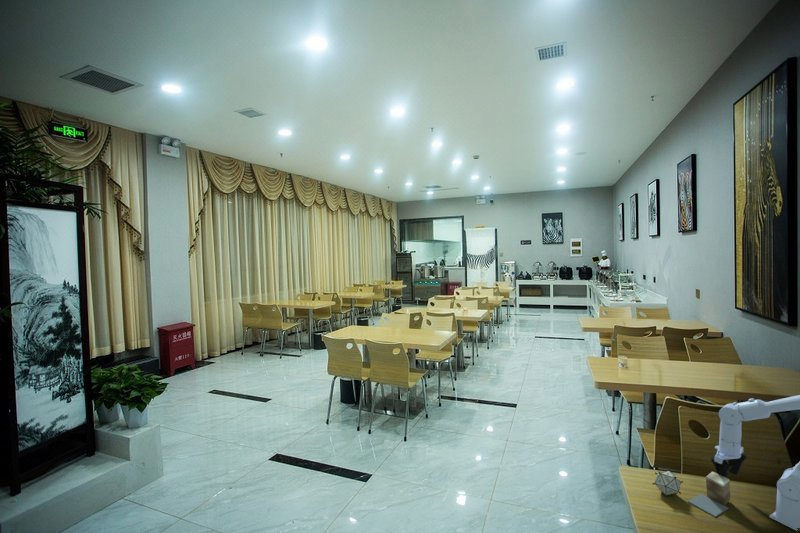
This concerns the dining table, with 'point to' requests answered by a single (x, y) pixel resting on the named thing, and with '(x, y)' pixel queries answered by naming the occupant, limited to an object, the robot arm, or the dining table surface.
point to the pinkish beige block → (718, 488)
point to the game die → (667, 483)
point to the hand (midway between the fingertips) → (727, 476)
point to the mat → (708, 505)
